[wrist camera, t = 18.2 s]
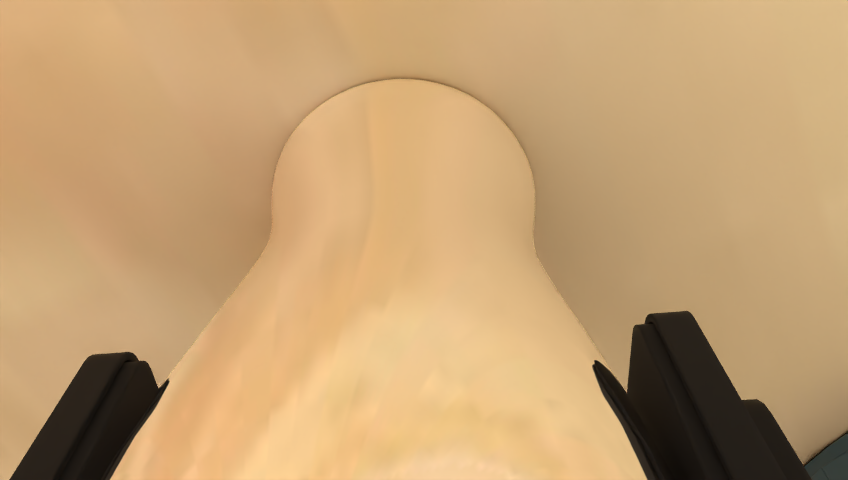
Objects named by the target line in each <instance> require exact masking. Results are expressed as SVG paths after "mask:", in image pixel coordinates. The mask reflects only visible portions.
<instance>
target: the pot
mask: <svg viewBox="0 0 848 480" xmlns="http://www.w3.org/2000/svg"><path fill="white" fill-rule="evenodd" d="M804 468H805V469H806V471H807V472H808V474H809V476H810V477H811V479H812V480H848V433H847V434H845V435H844V436H842V437H841V438H840V439H838V440H837V441H835V442H834V443H832V444H831V445H829V446H828V447H827V448H826V449H824V450H823V451H822V452H821V453H820V454H818V455H817V456H816V457H815V458H814V459H812V460H811V461H810V462H809V463H808V464H806V465H805V466H804Z"/></svg>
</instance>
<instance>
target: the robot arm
mask: <svg viewBox="0 0 848 480" xmlns="http://www.w3.org/2000/svg"><path fill="white" fill-rule="evenodd" d="M157 391H158V386H157V384H156V381H155V378H154V376H153V373H152V371H151V368H150V366H149V364H148V363H147V362H146V361H139V360H138V359H137V357H136V356H135V355H134V354H133V353H131V352H122V353H109V354H95V355H91V356H89V357H88V358H87V359H86V360H85V361H84V363H83V365H82V366H81V368H80V369H79V371H78V372H77V374H76V376H75V377H74V379H73V380H72V382H71V383H70V385H69V387H68V388H67V390H66V391H65V393H64V395H63V396H62V398H61V399H60V401H59V402H58V404H57V406H56V407H55V409H54V410H53V412H52V414H51V415H50V417H49V418H48V420H47V421H46V423H45V425H44V426H43V428H42V429H41V431H40V432H39V434H38V436H37V437H36V439H35V440H34V442H33V444H32V445H31V447H30V448H29V450H28V451H27V453H26V455H25V456H24V458H23V459H22V461H21V462H20V464H19V466H18V467H17V469H16V470H15V472H14V474H13V475H12V477H11V478H10V480H98V479H99V478H100V476H101V474H102V473H103V471H104V470H105V468H106V467H107V465H108V464H109V462H110V461H111V459H112V458H113V456H114V455H115V453H116V452H117V451H118V449H119V448H120V446H121V445H122V443H123V442H124V440H125V439H126V437H127V436H128V434H129V433H130V431H131V430H132V428H133V427H134V425H135V424H136V422H137V421H138V419H139V418H140V416H141V415H142V413H143V412H144V410H145V409H146V407H147V406H148V404H149V403H150V401H151V400H152V398H153V397H154V395H155V394H156V392H157ZM627 395H628V397H629V398H630V400H631V402H632V403H633V405H634V407H635V409H636V411H637V412H638V414H639V416H640V418H641V419H642V421H643V423H644V425H645V426H646V428H647V430H648V432H649V433H650V435H651V437H652V439H653V440H654V442H655V444H656V446H657V447H658V449H659V451H660V453H661V454H662V456H663V458H664V460H665V461H666V463H667V465H668V467H669V468H670V470H671V472H672V474H673V475H674V477H675V479H676V480H812V479H811V477H810V476H809V474H808V472H807V471H806V469H805V468H804V466H803V464H802V463H801V461H800V459H799V458H798V456H797V455H796V453H795V451H794V450H793V448H792V446H791V445H790V443H789V441H788V440H787V438H786V437H785V435H784V433H783V432H782V430H781V428H780V427H779V425H778V424H777V422H776V420H775V419H774V417H773V415H772V414H771V412H770V411H769V410H768V408H767V407H766V406H765V404H763V403H762V402H760V401H759V400H757V399H755V400H741V398H740V397H739V395H738V393H737V391H736V390H735V388H734V386H733V384H732V383H731V381H730V379H729V377H728V376H727V374H726V372H725V370H724V369H723V367H722V365H721V363H720V362H719V360H718V358H717V356H716V355H715V353H714V351H713V350H712V348H711V346H710V344H709V343H708V341H707V339H706V337H705V336H704V334H703V332H702V330H701V329H700V327H699V325H698V323H697V322H696V320H695V318H694V317H693V315H692V314H691V313H690V312H688V311H682V312H668V313H654V314H649V315H647V317H646V320H645V324H641V325H635V326H634V328H633V334H632V345H631V356H630V367H629V378H628V389H627Z"/></svg>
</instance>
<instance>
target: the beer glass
mask: <svg viewBox="0 0 848 480" xmlns="http://www.w3.org/2000/svg"><path fill="white" fill-rule="evenodd" d="M534 221H535V187H534V181H533V175H532V171H531V168H530V165H529V162H528V159H527V157H526V154H525V152H524V150H523V148H522V147H521V145H520V143H519V142H518V140H517V139H516V137H515V136H514V134H513V133H512V132H511V130H510V129H509V128H508V127H507V125H506V124H505V123H504V122H503V121H502V120H501V119H500V118H499V117H498V116H497V115H496V114H495V113H494V112H493V111H492V110H490V109H489V108H488V107H487V106H485V105H484V104H483V103H481V102H480V101H478V100H477V99H475V98H473V97H471V96H470V95H468V94H466V93H464V92H462V91H459V90H457V89H455V88H452V87H449V86H446V85H443V84H439V83H435V82H430V81H425V80H417V79H388V80H380V81H374V82H370V83H366V84H362V85H359V86H356V87H353V88H350V89H348V90H346V91H343V92H341V93H339V94H337V95H335V96H334V97H332V98H330V99H329V100H327V101H325V102H324V103H323V104H321V105H320V106H318V107H317V108H316V109H314V110H313V111H312V112H311V113H310V114H309V115H308V116H307V117H305V118H304V120H303V121H302V122H301V123H300V124H299V125H298V126H297V127H296V129H295V130H294V131H293V133H292V134H291V136H290V137H289V139H288V140H287V142H286V144H285V146H284V148H283V150H282V152H281V154H280V157H279V159H278V162H277V166H276V169H275V173H274V178H273V185H272V230H271V234H270V237H269V241H268V243H267V245H266V247H265V249H264V251H263V253H262V254H261V256H260V257H259V259H258V260H257V261H256V263H255V264H254V266H253V267H252V268H251V270H250V271H249V273H248V274H247V275H246V276H245V278H244V279H243V280H242V282H241V283H240V284H239V285H238V287H237V288H236V289H235V290H234V292H233V293H232V294H231V295H230V297H229V298H228V299H227V300H226V302H225V303H224V304H223V305H222V307H221V308H220V309H219V310H218V312H217V313H216V314H215V315H214V317H213V318H212V319H211V321H210V322H209V323H208V324H207V326H206V327H205V328H204V330H203V331H202V332H201V334H200V335H199V336H198V338H197V339H196V340H195V341H194V343H193V344H192V345H191V347H190V348H189V349H188V351H187V352H186V353H185V355H184V356H183V357H182V358H181V360H180V361H179V362H178V364H177V365H176V366H175V368H174V369H173V370H172V372H171V373H170V374H169V375H168V377H167V378H166V379H165V381H164V382H163V384H162V385H161V386H160V388H159V389H158V391H157V392H156V394H155V395H154V397H153V398H152V400H151V401H150V403H149V404H148V406H147V407H146V409H145V410H144V412H143V413H142V415H141V416H140V418H139V419H138V421H137V422H136V424H135V425H134V427H133V428H132V430H131V431H130V433H129V434H128V436H127V437H126V439H125V440H124V442H123V443H122V445H121V446H120V448H119V449H118V451H117V452H116V453H115V455H114V456H113V458H112V459H111V461H110V462H109V464H108V465H107V467H106V468H105V470H104V471H103V473H102V474H101V476H100V478H99V479H98V480H676V479H675V477H674V475H673V474H672V472H671V470H670V468H669V467H668V465H667V463H666V461H665V460H664V458H663V456H662V454H661V453H660V451H659V449H658V447H657V446H656V444H655V442H654V440H653V439H652V437H651V435H650V433H649V432H648V430H647V428H646V426H645V425H644V423H643V421H642V419H641V418H640V416H639V414H638V412H637V411H636V409H635V407H634V405H633V403H632V402H631V400H630V398H629V397H628V395H627V393H626V392H625V390H624V389H623V387H622V385H621V384H620V382H619V381H618V379H617V378H616V376H615V375H614V373H613V372H612V370H611V369H610V367H609V366H608V364H607V363H606V361H605V360H604V358H603V357H602V355H601V354H600V352H599V351H598V349H597V347H596V346H595V344H594V343H593V341H592V340H591V338H590V337H589V335H588V334H587V332H586V331H585V329H584V328H583V326H582V325H581V323H580V322H579V321H578V319H577V318H576V316H575V315H574V313H573V312H572V310H571V309H570V307H569V306H568V305H567V303H566V302H565V300H564V299H563V297H562V296H561V294H560V293H559V291H558V290H557V289H556V287H555V286H554V284H553V283H552V281H551V279H550V278H549V276H548V275H547V273H546V271H545V270H544V268H543V267H542V265H541V263H540V261H539V258H538V256H537V254H536V251H535V246H534V242H533V232H534Z"/></svg>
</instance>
